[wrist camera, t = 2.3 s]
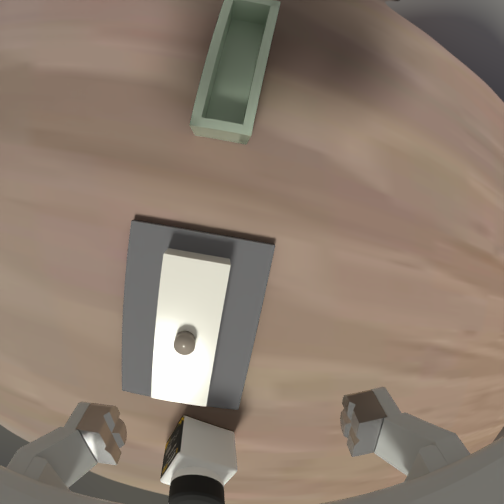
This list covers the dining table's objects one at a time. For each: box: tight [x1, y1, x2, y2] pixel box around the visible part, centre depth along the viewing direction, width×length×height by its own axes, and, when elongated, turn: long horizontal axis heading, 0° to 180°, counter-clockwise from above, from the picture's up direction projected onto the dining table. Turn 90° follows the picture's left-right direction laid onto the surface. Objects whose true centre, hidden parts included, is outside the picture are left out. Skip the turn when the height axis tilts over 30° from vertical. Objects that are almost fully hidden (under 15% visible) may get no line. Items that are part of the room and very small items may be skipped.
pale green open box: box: [190, 0, 281, 144], centre depth 24 cm, size 5×14×5 cm, turn 169°
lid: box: [151, 248, 231, 407], centre depth 29 cm, size 6×16×4 cm, turn 169°
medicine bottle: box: [160, 416, 237, 504], centre depth 29 cm, size 7×7×12 cm
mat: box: [122, 220, 275, 410], centre depth 31 cm, size 14×20×1 cm
